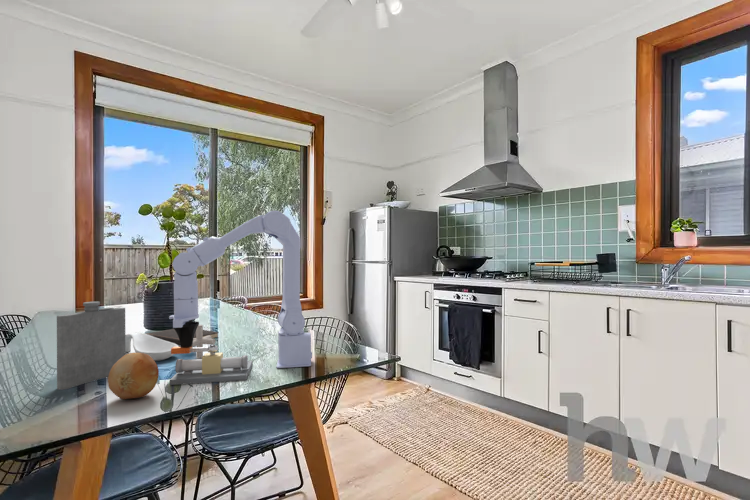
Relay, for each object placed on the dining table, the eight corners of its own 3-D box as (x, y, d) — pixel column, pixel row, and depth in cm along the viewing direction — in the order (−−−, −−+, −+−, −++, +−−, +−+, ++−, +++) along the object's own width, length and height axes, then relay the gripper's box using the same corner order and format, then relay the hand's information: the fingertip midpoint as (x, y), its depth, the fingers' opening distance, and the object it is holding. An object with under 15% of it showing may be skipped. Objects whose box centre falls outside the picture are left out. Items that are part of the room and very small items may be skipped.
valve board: (252, 364, 115) (252, 342, 115) (246, 379, 101) (246, 354, 101) (185, 368, 112) (185, 346, 112) (169, 384, 98) (169, 359, 98)
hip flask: (61, 390, 95) (61, 306, 95) (52, 388, 97) (51, 305, 97) (128, 372, 109) (127, 298, 109) (119, 370, 111) (118, 298, 111)
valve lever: (218, 350, 106) (218, 343, 106) (216, 352, 104) (216, 346, 104) (174, 352, 105) (174, 345, 105) (170, 354, 102) (170, 347, 102)
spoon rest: (187, 357, 126) (186, 334, 126) (151, 366, 115) (151, 341, 115) (138, 349, 136) (138, 328, 136) (102, 358, 126) (102, 335, 126)
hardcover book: (183, 332, 167) (183, 327, 167) (219, 338, 155) (218, 332, 155) (144, 339, 154) (144, 333, 154) (180, 346, 141) (180, 340, 141)
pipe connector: (204, 362, 118) (203, 328, 118) (174, 361, 120) (174, 327, 120) (223, 354, 128) (223, 322, 128) (195, 352, 130) (195, 322, 130)
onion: (103, 409, 83) (103, 361, 83) (113, 394, 92) (112, 350, 92) (156, 402, 87) (156, 356, 87) (160, 388, 96) (160, 346, 96)
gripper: (178, 296, 112) (179, 344, 112) (159, 302, 98) (160, 358, 97) (205, 295, 113) (205, 343, 113) (190, 301, 99) (190, 356, 99)
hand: (186, 350), depth 105 cm, fingers closed, pressing on valve lever
